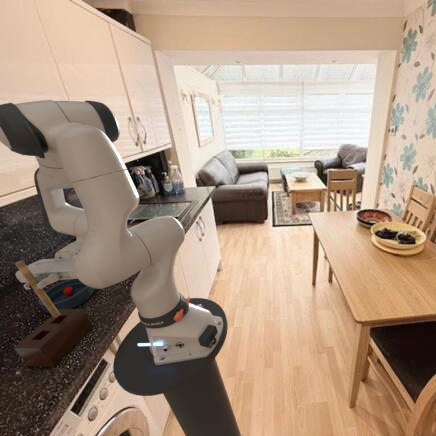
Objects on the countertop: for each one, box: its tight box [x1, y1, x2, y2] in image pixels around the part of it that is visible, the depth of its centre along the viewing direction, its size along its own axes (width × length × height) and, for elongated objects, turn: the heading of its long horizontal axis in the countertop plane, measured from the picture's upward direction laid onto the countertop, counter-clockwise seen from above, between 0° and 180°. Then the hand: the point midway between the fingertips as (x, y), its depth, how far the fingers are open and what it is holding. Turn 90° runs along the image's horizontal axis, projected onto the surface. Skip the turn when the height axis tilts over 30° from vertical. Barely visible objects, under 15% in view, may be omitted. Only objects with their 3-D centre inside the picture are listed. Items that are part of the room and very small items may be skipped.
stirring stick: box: [14, 260, 60, 318], centre depth 68 cm, size 2×2×20 cm
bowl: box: [38, 279, 96, 315], centre depth 91 cm, size 15×15×5 cm
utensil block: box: [13, 308, 94, 368], centre depth 72 cm, size 8×14×8 cm, turn 176°
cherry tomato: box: [64, 287, 74, 295], centre depth 93 cm, size 3×3×3 cm
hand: (32, 287), depth 66 cm, fingers closed on stirring stick, 1 cm apart
